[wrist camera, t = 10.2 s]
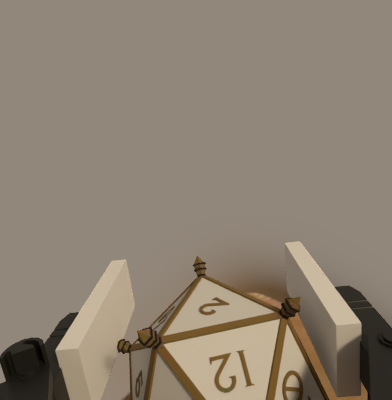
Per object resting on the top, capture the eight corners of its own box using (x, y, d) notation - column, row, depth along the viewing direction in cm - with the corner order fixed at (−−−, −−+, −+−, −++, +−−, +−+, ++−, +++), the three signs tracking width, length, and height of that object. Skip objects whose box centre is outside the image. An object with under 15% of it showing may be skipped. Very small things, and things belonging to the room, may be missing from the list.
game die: (214, 482, 16) (178, 282, 20) (401, 486, 12) (313, 239, 16) (54, 642, 9) (47, 277, 13) (396, 765, 5) (238, 196, 9)
